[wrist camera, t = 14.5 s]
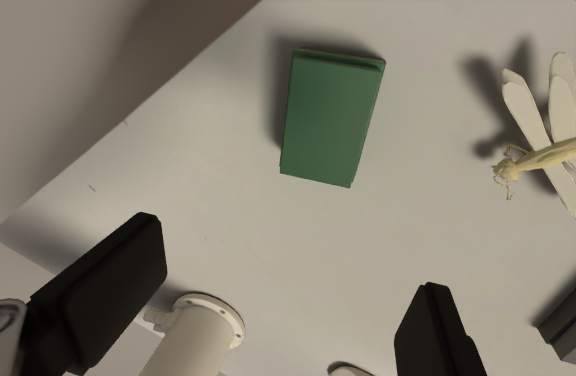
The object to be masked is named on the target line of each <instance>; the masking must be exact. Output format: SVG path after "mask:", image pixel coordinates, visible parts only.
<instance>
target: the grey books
mask: <svg viewBox="0 0 576 376" xmlns="http://www.w3.org/2000/svg"><path fill="white" fill-rule="evenodd" d="M538 330H539V332H540V334H541V336H542V337H543V339H544V341H545V342H546V343H547V344H550V345H552V347H553V348H554V350H555V352H556V353H557V355H558V357H559V358H560V360H561V361H565V362H568V363H572V364H576V289H575V290H574V291H573V292H572V294H571V295H570V296H569V297H568V298H567V299H566V300H565V301H564V302H563V303H562V304H561V305H560V306H559V307H558V308H557V309H556V310H555V311H554V312H553V313H552V314H551V316H550V317H549V318H548V319H547V320H546V321H545V322H544V323H543V324H542V325H541V326H540V327H539V328H538Z"/></svg>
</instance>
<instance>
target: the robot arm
mask: <svg viewBox="0 0 576 376" xmlns="http://www.w3.org/2000/svg"><path fill="white" fill-rule="evenodd" d="M166 277H167V265H166V257H165V249H164V242H163V234H162V227H161V222H160V221H159V220H158V218H157V216H155V215H152V214H148V213H144V212H139V213H137V214H136V215H134V216H133V217H132V218H130V219H129V220H128V221H127V222H125V223H124V224H123V225H121V226H120V227H119V228H118V229H116V230H115V231H114V232H112V233H111V234H110V235H109V236H107V237H106V238H105V239H103V240H102V241H101V242H100V243H98V244H97V245H96V246H94V247H93V248H92V249H91V250H89V251H88V252H87V253H85V254H84V255H83V256H82V257H80V258H79V259H78V260H76V261H75V262H74V263H73V264H71V265H70V266H69V267H67V268H66V269H65V270H64V271H62V272H61V273H60V274H58V275H57V276H56V277H55V278H53V279H52V280H51V281H49V282H48V283H47V284H45V285H44V286H43V287H42V288H40V289H39V290H38V291H37V292H35V293H34V294H33V295H31V296H30V298H31V300H30V301H29V302H28V303H27V304H25V303H24V302H23V301H21V300H19V299H10V298H9V299H3V300H0V376H62V375H63V374H64V373H65V372H66V371H67V372H69V373H73V374H75V375H78V376H83V375H84V374H85V373H86V371H87V370H88V369H89V368H92V367H94V366H95V365H97V364H98V362H99V361H100V360H101V359H102V358H103V356H104V355H105V353H106V352H107V351H108V350H109V349H110V348H111V346H112V345H113V344H114V343H115V342H116V340H117V339H118V338H119V337H120V335H121V334H122V333H123V332H124V330H125V329H126V328H127V327H128V325H129V324H130V323H131V322H132V321H133V319H134V318H135V317H136V316H137V314H138V313H139V312H140V311H141V309H142V308H143V307H144V306H145V304H146V303H147V302H148V301H149V300H150V298H151V297H152V296H153V295H154V293H155V292H156V291H157V290H158V288H159V287H160V286H161V285H162V283H163V282H164V281H165V279H166ZM143 319H144V320H145V321H148V322H151V323H154V324H155V325H154V329H153V330H155V331H158V332H163V333H165V336H164V338H163V339H162V341H161V342H160V344H159V345H158V347H157V348H156V350H155V351H154V353H153V355H152V356H151V358H150V359H149V361H148V362H147V364H146V365H145V367H144V368H143V370H142V371H141V373H140V375H139V376H217V374H218V372H219V369H220V367H221V365H222V362H223V360H224V358H225V355H226V353H227V351H228V349H232V348H235V347H237V346H238V345H240V343H241V342H242V340H243V337H244V334H245V328H244V324H243V322H242V320H241V318H240V317H239V315H238V314H237V313H236V312H235V311H234V310H233V309H232V308H231V307H229V306H228V305H227V304H225V303H223V302H222V301H220V300H218V299H216V298H213V297H210V296H207V295H203V294H187V295H184V296H182V297H180V298H179V299H178V300H177V301H176V302H175V304H174V305H173V307H172V311H171V312H169V311H168V312H167V313H163V312H161V311H159V310H155V309H152V308H149V309H147V311H146V312H145V314H144V317H143ZM394 349H395V357H396V366H397V374H398V376H487V374H486V371H485V369H484V366H483V363H482V361H481V358H480V356H479V353H478V350H477V348H476V345H475V343H474V341H473V340H472V338H471V337H470V336H468V335H466V333H465V330H464V327H463V324H462V322H461V319H460V316H459V313H458V311H457V308H456V305H455V303H454V300H453V297H452V294H451V292H450V289H449V288H448V287H447V286H444V285H440V284H436V283H432V282H427V283H426V284H425V285H420V286H419V288H418V290H417V292H416V294H415V296H414V298H413V300H412V302H411V304H410V306H409V308H408V310H407V312H406V314H405V316H404V318H403V320H402V322H401V324H400V326H399V328H398V330H397V332H396V334H395V338H394Z"/></svg>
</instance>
